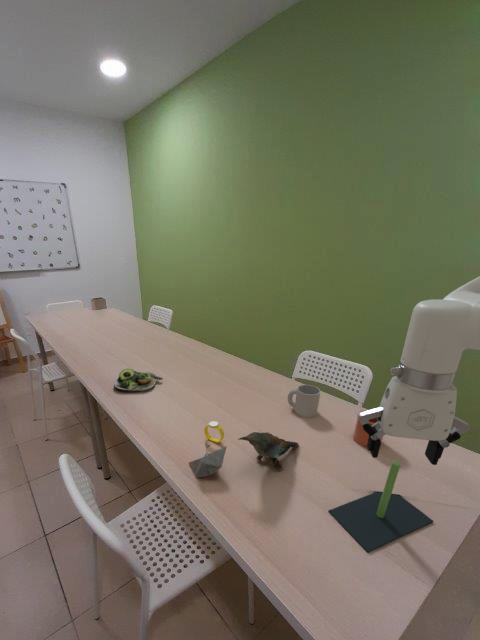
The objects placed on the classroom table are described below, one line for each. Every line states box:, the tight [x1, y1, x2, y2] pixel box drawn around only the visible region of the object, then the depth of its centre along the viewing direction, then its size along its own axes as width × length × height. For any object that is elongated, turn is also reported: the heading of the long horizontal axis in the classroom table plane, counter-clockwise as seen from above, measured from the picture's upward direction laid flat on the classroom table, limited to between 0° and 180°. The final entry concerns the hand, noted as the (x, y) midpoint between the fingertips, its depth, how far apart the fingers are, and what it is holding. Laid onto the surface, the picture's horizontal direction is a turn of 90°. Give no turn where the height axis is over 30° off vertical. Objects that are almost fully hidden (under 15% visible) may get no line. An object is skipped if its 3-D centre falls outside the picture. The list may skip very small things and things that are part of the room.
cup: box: [287, 384, 321, 418], centre depth 100 cm, size 7×10×9 cm
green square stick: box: [376, 460, 401, 518], centre depth 61 cm, size 1×1×14 cm
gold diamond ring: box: [203, 420, 225, 444], centre depth 88 cm, size 6×3×6 cm, turn 57°
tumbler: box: [352, 409, 384, 448], centre depth 85 cm, size 7×7×8 cm
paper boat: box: [188, 444, 228, 478], centre depth 77 cm, size 12×6×9 cm
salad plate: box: [113, 368, 164, 393], centre depth 125 cm, size 19×18×5 cm
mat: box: [328, 490, 434, 554], centre depth 63 cm, size 18×10×1 cm, turn 110°
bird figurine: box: [237, 431, 300, 472], centre depth 78 cm, size 13×10×20 cm
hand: (400, 456), depth 57 cm, fingers open, 9 cm apart
